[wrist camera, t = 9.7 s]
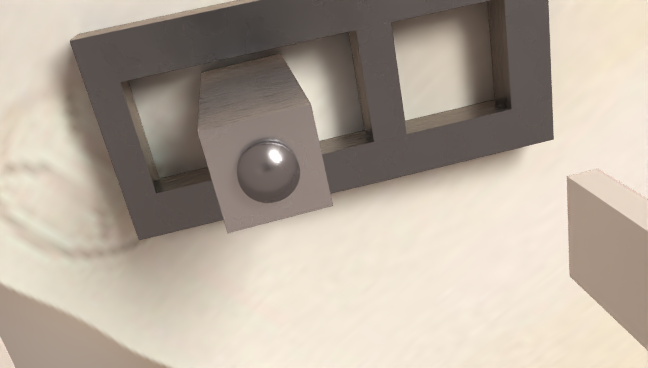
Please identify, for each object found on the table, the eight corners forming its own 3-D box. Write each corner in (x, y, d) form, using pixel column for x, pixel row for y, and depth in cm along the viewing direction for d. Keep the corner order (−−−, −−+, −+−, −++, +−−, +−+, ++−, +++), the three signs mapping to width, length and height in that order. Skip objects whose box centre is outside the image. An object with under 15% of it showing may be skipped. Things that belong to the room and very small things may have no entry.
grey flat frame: (78, 34, 29) (69, 40, 27) (525, -61, 30) (545, -61, 29) (143, 223, 33) (138, 240, 31) (535, 128, 34) (553, 139, 33)
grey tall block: (201, 72, 30) (197, 135, 21) (280, 53, 31) (312, 106, 21) (222, 147, 32) (228, 238, 22) (298, 128, 32) (334, 210, 23)
